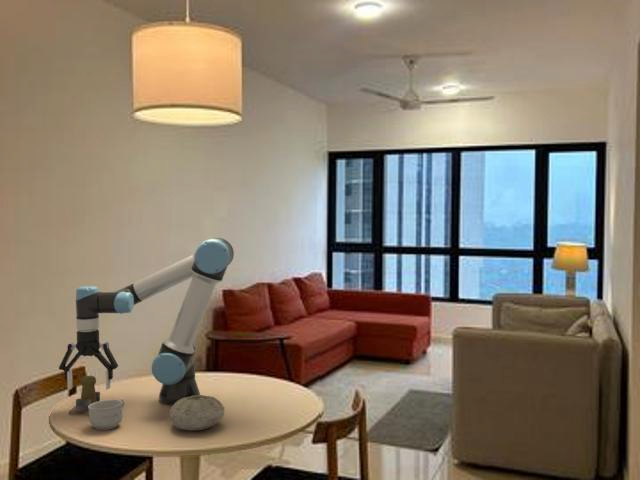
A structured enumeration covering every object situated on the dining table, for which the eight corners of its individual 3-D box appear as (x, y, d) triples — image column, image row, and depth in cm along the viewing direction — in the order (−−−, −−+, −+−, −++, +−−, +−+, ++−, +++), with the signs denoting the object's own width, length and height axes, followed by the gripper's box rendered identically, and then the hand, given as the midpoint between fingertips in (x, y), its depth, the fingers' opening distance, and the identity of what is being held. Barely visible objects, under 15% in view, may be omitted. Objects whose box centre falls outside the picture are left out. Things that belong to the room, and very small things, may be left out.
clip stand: (106, 405, 229) (106, 391, 229) (97, 414, 219) (97, 400, 219) (79, 405, 229) (79, 391, 229) (68, 414, 219) (68, 399, 218)
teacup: (103, 435, 199) (102, 410, 199) (81, 428, 205) (81, 404, 204) (137, 423, 211) (137, 399, 211) (115, 417, 217) (115, 394, 216)
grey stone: (170, 419, 215) (170, 390, 214) (222, 416, 219) (222, 388, 218) (169, 437, 197) (169, 406, 197) (226, 434, 201) (226, 403, 201)
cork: (100, 406, 224) (100, 376, 224) (84, 410, 220) (84, 379, 219) (92, 403, 228) (92, 373, 228) (76, 406, 224) (76, 376, 223)
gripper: (126, 327, 227) (127, 385, 228) (56, 328, 226) (58, 386, 227) (119, 331, 219) (121, 391, 220) (48, 332, 219) (49, 391, 220)
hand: (89, 388), depth 224 cm, fingers open, 13 cm apart
